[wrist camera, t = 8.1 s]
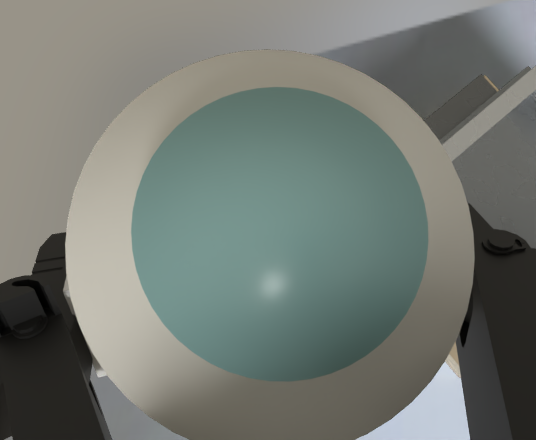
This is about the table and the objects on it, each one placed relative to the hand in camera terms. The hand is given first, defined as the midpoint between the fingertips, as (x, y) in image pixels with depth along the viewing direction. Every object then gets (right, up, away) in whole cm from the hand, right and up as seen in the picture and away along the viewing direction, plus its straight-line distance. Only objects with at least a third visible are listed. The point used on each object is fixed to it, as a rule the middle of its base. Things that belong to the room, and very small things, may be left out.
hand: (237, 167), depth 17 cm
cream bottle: (0, -4, +3) cm, 5 cm away
